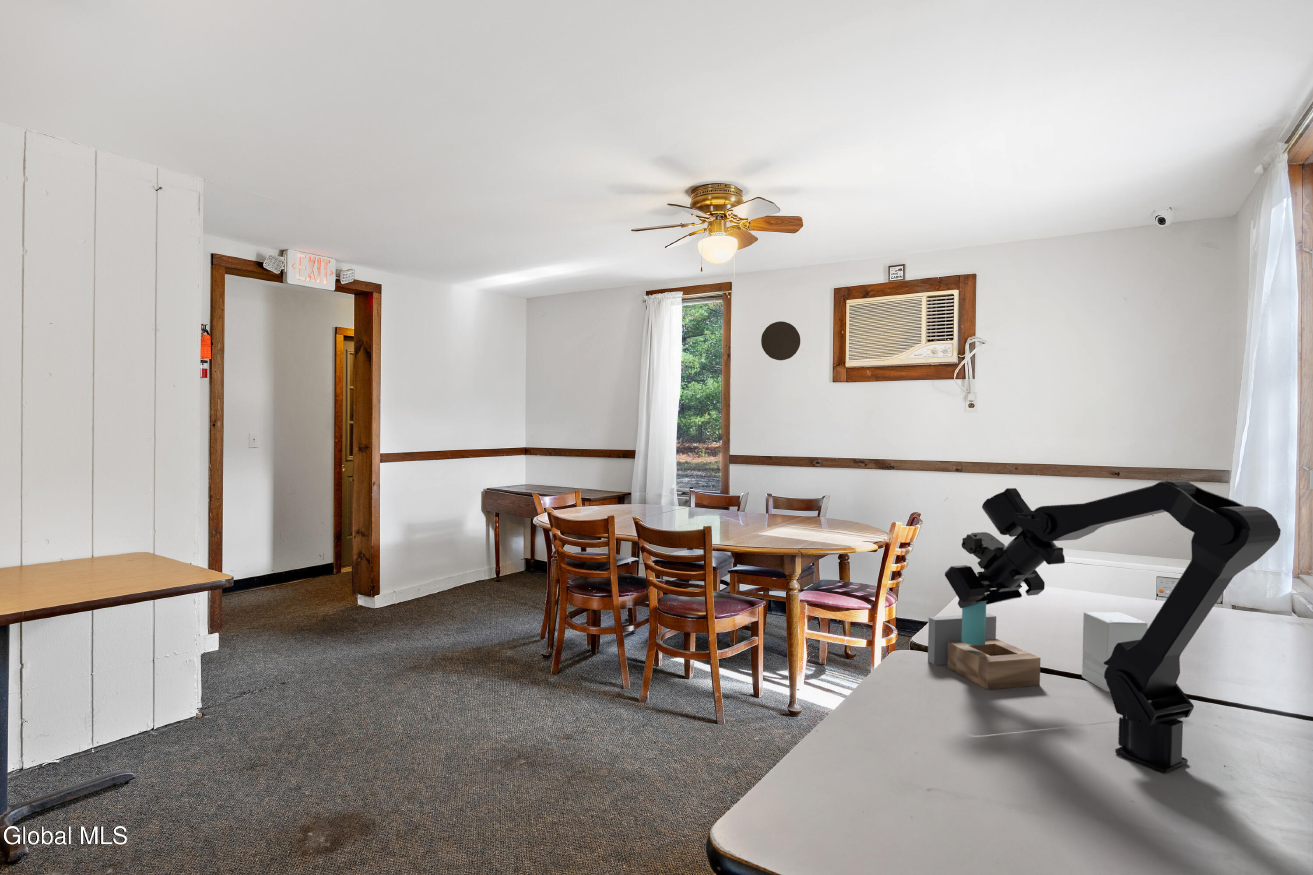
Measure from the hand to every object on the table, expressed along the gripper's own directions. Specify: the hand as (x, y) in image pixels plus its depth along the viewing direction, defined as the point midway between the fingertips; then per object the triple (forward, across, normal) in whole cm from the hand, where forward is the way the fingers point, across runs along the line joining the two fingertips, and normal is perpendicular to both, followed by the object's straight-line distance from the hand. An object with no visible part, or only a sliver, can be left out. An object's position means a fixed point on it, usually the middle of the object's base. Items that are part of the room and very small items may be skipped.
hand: (968, 604), depth 127 cm
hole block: (+8, -4, +11) cm, 14 cm away
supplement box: (+1, -22, +18) cm, 29 cm away
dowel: (+4, 0, +6) cm, 7 cm away
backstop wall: (+14, -5, +5) cm, 16 cm away
